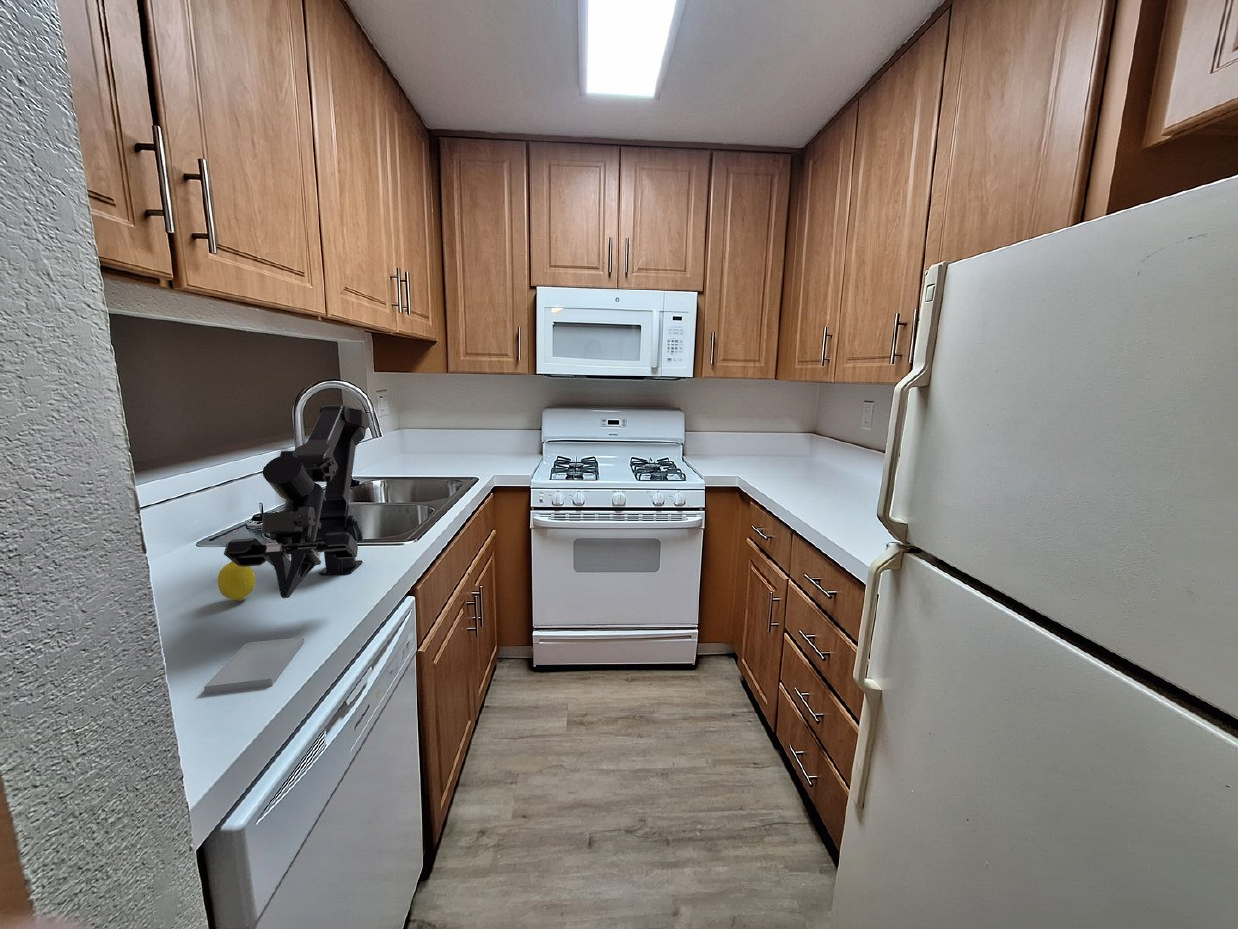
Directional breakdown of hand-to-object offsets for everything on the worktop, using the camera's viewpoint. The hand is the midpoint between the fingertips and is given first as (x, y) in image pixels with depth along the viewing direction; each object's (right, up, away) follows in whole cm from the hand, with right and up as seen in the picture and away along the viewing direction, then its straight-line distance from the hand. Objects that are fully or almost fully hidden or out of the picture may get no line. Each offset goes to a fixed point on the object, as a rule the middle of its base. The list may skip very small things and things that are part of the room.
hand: (284, 597), depth 81 cm
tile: (+1, -6, -3) cm, 7 cm away
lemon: (-17, -4, +12) cm, 21 cm away
